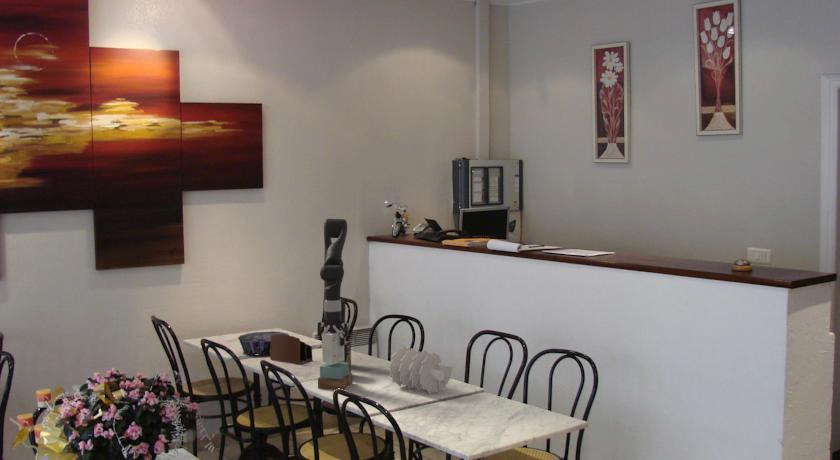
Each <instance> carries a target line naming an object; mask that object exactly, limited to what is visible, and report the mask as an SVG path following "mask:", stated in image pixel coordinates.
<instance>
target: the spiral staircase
mask: <svg viewBox="0 0 840 460" xmlns="http://www.w3.org/2000/svg"><path fill="white" fill-rule="evenodd" d="M390 358H391V360H390V363H389V365H388V368H389V369H390V372H389V377H390V378H392V383H396V384H397V385H398V386H399V387H401V386H404V387H405V386H406V387H407V388H408V389H409V390H412V389H414V388H416V389H417V391H420V390H424V391H427V393H428V394H432V393H437V394H438V393H439V392H440V391H442V390H443V389H444V388H446V385H448V384H449V383H448V382H449V381H450V379H451V378H452V377H451V375H452V372H453V367H451V366H445V365H440V364H441V362H442V360H441V356H440V354H439V353H438V354H437V353H435V352H434V351H432V353H431V354H430V352H428V351H426V349H423V350H422V351H419V349H414V348H412V347H411V348H406V347H405V345H402V347H400V348H395V352H394V354H392V355H391V356H390Z"/></svg>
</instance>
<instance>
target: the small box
mask: <svg viewBox="0 0 840 460" xmlns="http://www.w3.org/2000/svg"><path fill="white" fill-rule="evenodd" d="M343 333H344V332H343ZM321 344H322V345H321V347H322V350H321V351H322V363H332V364H333V363H336V362H340V361H343V360H345V359H344V346H341V337H340V335H339V334H338V333H337V332H327V333H323V332H322V337H321Z"/></svg>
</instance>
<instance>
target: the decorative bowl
mask: <svg viewBox="0 0 840 460" xmlns="http://www.w3.org/2000/svg"><path fill="white" fill-rule="evenodd" d="M273 334H283V335H289V336H290V334H289V333H288V332H284V331H258V332H257V331H255V332H249V333H244V334H241V335H239V336H238V341H239V343H240V346H241V348H242V351H243V352H244V353H245V352H246V353H245V354H247V353H249V354H265V355H271V335H273ZM249 354H248V355H249Z"/></svg>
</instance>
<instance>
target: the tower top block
mask: <svg viewBox="0 0 840 460" xmlns="http://www.w3.org/2000/svg"><path fill="white" fill-rule="evenodd" d="M348 374H349V363H341V362H336V363H333V364H332V363H327V362H324V364H322V365H320V366H319V377H320V378H330V379H342V378H344V377H345V376H347V375H348Z"/></svg>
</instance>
